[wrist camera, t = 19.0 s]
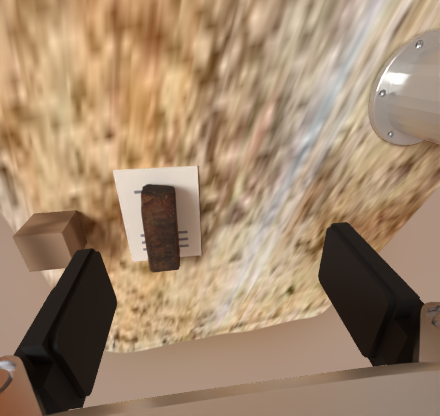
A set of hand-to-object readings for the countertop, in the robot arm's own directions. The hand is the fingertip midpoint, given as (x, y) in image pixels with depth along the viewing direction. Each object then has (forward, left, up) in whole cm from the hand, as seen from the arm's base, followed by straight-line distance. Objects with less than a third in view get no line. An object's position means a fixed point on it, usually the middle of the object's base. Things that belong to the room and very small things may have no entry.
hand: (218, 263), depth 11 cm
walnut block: (+17, +12, -23) cm, 31 cm away
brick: (+4, +11, -23) cm, 25 cm away
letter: (+4, +11, -23) cm, 25 cm away
